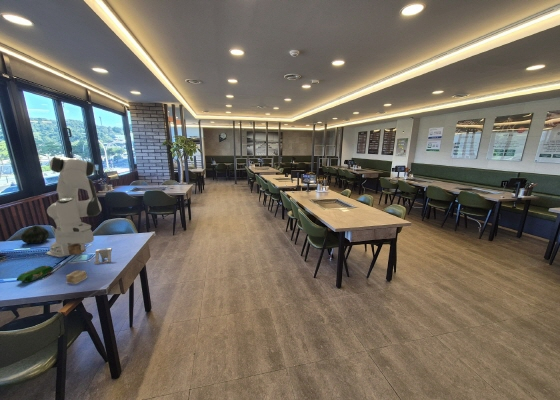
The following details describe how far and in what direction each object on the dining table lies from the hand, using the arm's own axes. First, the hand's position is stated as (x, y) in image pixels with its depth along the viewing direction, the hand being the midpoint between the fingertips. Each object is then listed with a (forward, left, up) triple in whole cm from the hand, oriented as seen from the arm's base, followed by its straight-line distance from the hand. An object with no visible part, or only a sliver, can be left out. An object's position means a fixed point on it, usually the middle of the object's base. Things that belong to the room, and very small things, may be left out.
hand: (77, 249), depth 128 cm
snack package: (-27, -3, -19) cm, 33 cm away
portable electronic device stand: (-6, +21, -19) cm, 29 cm away
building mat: (-3, -1, -18) cm, 19 cm away
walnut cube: (0, 0, -2) cm, 2 cm away
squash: (-87, +42, -19) cm, 99 cm away
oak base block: (-1, -2, -18) cm, 18 cm away
